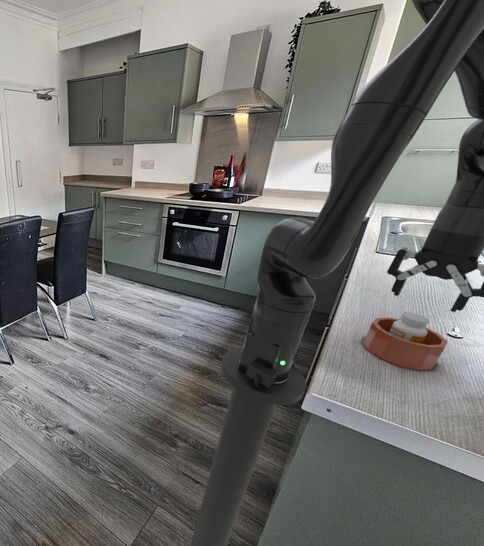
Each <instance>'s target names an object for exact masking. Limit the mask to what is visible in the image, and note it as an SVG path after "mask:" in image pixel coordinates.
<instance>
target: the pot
mask: <svg viewBox="0 0 484 546" xmlns="http://www.w3.org/2000/svg"><path fill="white" fill-rule="evenodd" d="M397 320H401V318H394V317H375V318H374V320H373V321H372V323H371V324H370V327H369V329H368V331H367V333H366V335H365V337H364V339H363V342H362V343H363V345H364V347H365V348H366V350H367V351H369V352H370V353H372V354H373V355H375V356H376V357H378V358H380V359H381V360H383V361H386V362H388V363H391V364H393V365H395V366H398V367H402V368H406V369H411V370H414V371H415V370H416V371H430V370H431V371H432V370H433V368H434V367H435V365H436V364H437V362H438V360H439V359H440V357H441V355H442V354H443V351H444V350H445V348H446V346H447V344H448V342H449V341H448V340H447V339H446V338H445V337H444V336H443V335H442V334H441V333H439V332H437V331H434V330H433V329H431V328H428V327H427V326H426V327H424V328H425V329H426V330H427V335H426V337H425V339H424V341H423V343H422V344H420V343H415V342H410V341H408V340H405V339H402V338H399V337H396V336H394V335H392V334H390V333H389V331H390V329H391V327H392V325H393V323H394V322H395V321H397Z"/></svg>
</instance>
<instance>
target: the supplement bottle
mask: <svg viewBox="0 0 484 546" xmlns="http://www.w3.org/2000/svg"><path fill="white" fill-rule="evenodd" d="M400 319H401V320H397V321H395V322H394V323H393V325H392V327H391V329H390V331H389V333H390V334H392V335H394V336H396V337H399V338H402V339H405V340H408V341H410V342H415V343H420V344H422V343H423V341H424V339H425V337H426V335H427V330H426V329H425V328H424V327H426V328H427V325H428V324H429V318H428V317H425V316H424V315H421V314H418V313H415V312H414V313H413V312H403V313H402V315H401V316H400Z"/></svg>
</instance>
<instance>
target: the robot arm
mask: <svg viewBox="0 0 484 546" xmlns="http://www.w3.org/2000/svg"><path fill="white" fill-rule="evenodd" d="M410 1H411V2H412V5H413V6H414V8H415V10H416V11H417V13H418V14H419V16H420V18H421V19H422V20H423V22H424V23H425V26H424V27H423V29H422V30H420V32H419V33H418V34H417V35H416V36H415V37H414V38H413V39H412V40H411V41H410V42H409V43H408V44H407V45H406V46H405V47H404V48H403V49H401V51H400V52H398V53H397V54H396V55H395V56H393V58H392V59H391V60H390V61H388V63H386V65H384V67H382V68H381V69H380V70H379V71H378V72H377V73H376V74H374V76H373V77H372V78H371V79H369V81H368V82H367V83H366V84H365V85H364V86H363V88H362V89H361V90H360V91H359V92H358V93H357V94H356V96H355V98H354V100H352V102H351V104H350V106H349V108H348V110H347V112H345V115H344V116H343V119H342V121H341V123H340V124H339V126H338V127H337V130H336V132H335V134H334V136H333V139H332V143H331V148H330V175H331V176H330V187H329V191H328V195H327V197H326V199H325V202H324V204H323V205H322V208H321V210H320V211H319V213H318V215H317V216H316V218H315V220H314V221H313V220H309V219H306V218H303V217H302V218H301V217H286V218H284V219H282V220H280V221H278V222H277V223H276V224H275V225H274V226H273V227H272V228H271V229H270V231H269V233H268V234H267V237H266V239H265V240H264V241H265V242H264V245H263V248H262V251H261V256H260V257H261V258H260V263H259V267H258V272H257V279H256V280H257V287H258V290H257V295H256V299H255V303H254V306H253V308H252V309H253V310H252V313H251V316H250V317H251V318H250V321H249V325H248V327H247V332H246V336H245V338H244V343H243V347H242V348H243V350H242V354H241V357H240V359H239V367H238V371H240V372H242V373H243V374H245V375H247V376H248V377H250V378H252V379H254V384H255V386H257V387H262V385H264V386H266V387H267V388H269V387H270V386H271V385H281V384H284V383H285V382H286V381H287V379H288V377H289V372H290V369H291V368H292V369H294V366H295V364H294V361H295V358H296V356H297V353H298V349H299V346H300V343H301V341H302V339H303V335H304V332H305V329H306V327H307V324H308V322H309V319H310V317H311V313H312V311H313V308H314V305H315V303H316V293H315V292H314V290H313V288H312V287H311V286H310V284H309V282H308V281H307V279H308V280H318V279H322V278H324V277H326V276H327V275H329V274H330V273H332V272H333V271H334V270H335V269H336V268H337V267H338V266H339V265H340V264H341V263H342V261H343V260H344V258H345V257H346V255H347V254H348V252H349V250H350V248H351V246H352V244H353V242H354V240H355V238H356V236H357V234H358V233H359V230H360V228H361V226H362V224H363V222H364V220H365V218H366V215H367V214H368V212H369V210H370V208H371V206H372V205H373V203H374V201H375V199H376V197H377V195H378V194H379V193H380V190H381V189H382V187H383V185H384V183H385V182H386V181H387V179H388V177H389V175H390V173H391V172H392V170H393V168H394V167H395V165H396V164H397V162H398V161H399V159H400V158H401V156H402V154H403V153H404V151H405V150H406V149H407V147H408V146H409V144H410V143H411V142H412V140H413V139H414V137H415V136H416V134H417V132H418V131H419V129H420V127H421V126H422V124H423V123H424V121H425V120H426V118H427V116H428V114H429V113H430V111H431V110H432V108H433V106H434V104H435V103H436V101H437V99H438V98H439V96H440V94H441V93H442V91H443V90H444V88H445V86H446V85H447V83H448V82H449V80H450V78H451V77H452V75H453V74H454V73H455V76H456V79H457V82H458V86H459V89H460V93H461V97H462V101H463V104H464V107H465V110H466V112H467V114H468V115H469V117H471V118H473V119H477V120H475V121H474V122H472V124H470V125H469V126H468V127H467V128H466V130H465V131H464V132H463V134H462V135H461V138H460V140H459V145H458V155H457V167H456V168H457V169H456V176H455V182H454V184H453V186H452V189H451V190H450V193H449V194H448V197H447V199H446V201H445V202H444V204H443V206H442V208H441V209H440V210H439V212H438V214H437V215H436V218H435V220H434V221H433V224H432V226H431V229H430V230H429V232H428V234H427V236H426V238H425V241H424V243H423V246H422V247H421V249H420V250H419V251H416V250H411V249H409V248H408V247H401V248H400V249H399V250H398V251H397V252H396V254H395V256H394V258H393V260H392V262H391V263H390V265H389V267H388V268H387V271H386V273H387V275H390V276H392V277H394V278H395V281H394V283H393V284H392V287H391V289H390V290H391V293H393V296H396V297H399V296H400V294H401V292H402V291H403V288H404V286H405V284H406V282H407V279H408V278H410V277H414V276H416V275H418V274H420V273H422V274H424V275H425V276H427V277H437V278H439V279H442V280H445V281H448V280H453V282H454V284H455V286H456V287H457V288H458V290H459V291H460V292H459V295H458V296H457V298H456V300H455V301H454V303H453V305H452V306H451V309H450V312H453V313H456V312H457V311H459V312H461V311H463V310H464V309H465V308H466V305H467V304H468V301H469V300H470V298H474V297H476V298H477V297H480V298H484V281H483V282H482V284H481V286H480V288H474V287H473V286H472V285H471V283H470V280H469V278H468V276H467V274H470V273H472V272H475V271H479V272H480V273H479V275H480V276H481V277H483V278H484V264H482V263H479V259H480V256H481V254H482V252H483V250H484V0H410ZM412 257H414V260H415V262H416V263H417V265H414V266H413V267H410V268H408V269H406V270H405V271H404V270H403V271H402V270H400V267H401V265H402V263H403V262H404V261H407V260H409V259H410V258H412Z"/></svg>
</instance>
